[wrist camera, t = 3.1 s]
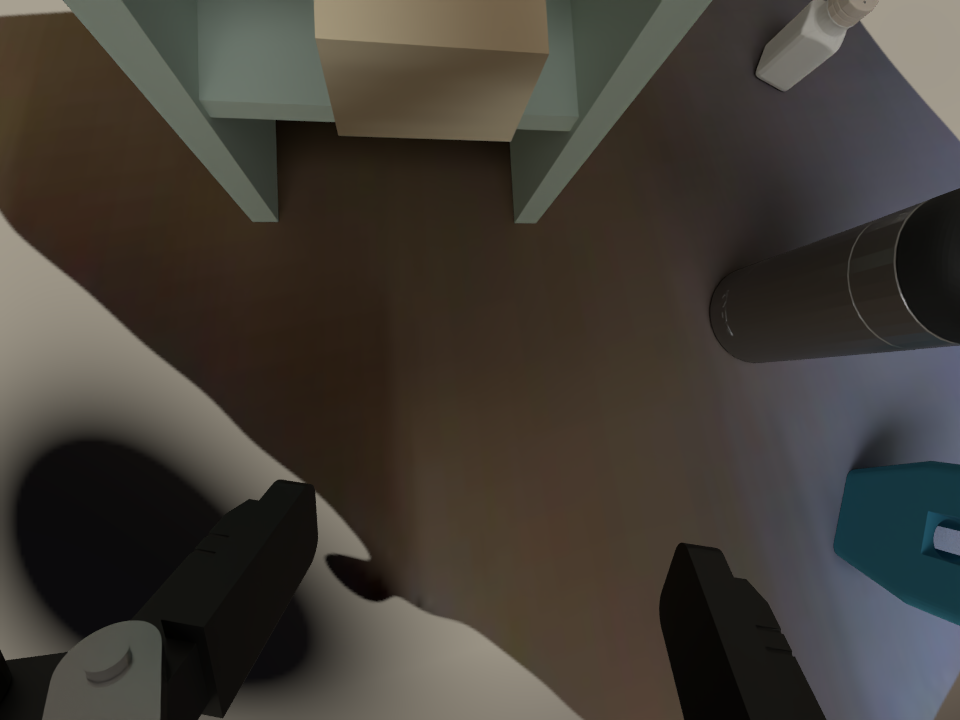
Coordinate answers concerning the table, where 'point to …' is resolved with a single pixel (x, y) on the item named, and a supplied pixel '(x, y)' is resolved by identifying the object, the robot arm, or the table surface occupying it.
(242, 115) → the tall sage green box
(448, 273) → the table surface
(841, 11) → the salt shaker
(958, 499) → the block
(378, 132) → the slat
